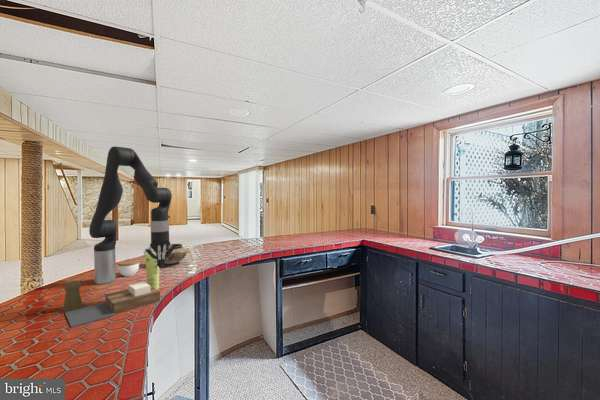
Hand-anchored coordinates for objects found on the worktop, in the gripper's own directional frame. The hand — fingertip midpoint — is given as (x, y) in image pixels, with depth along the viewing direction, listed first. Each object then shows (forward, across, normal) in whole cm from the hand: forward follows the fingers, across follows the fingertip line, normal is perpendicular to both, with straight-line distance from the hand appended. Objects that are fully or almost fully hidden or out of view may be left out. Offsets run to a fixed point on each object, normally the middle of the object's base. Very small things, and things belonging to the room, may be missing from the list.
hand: (160, 267), depth 123 cm
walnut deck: (+13, +12, 0) cm, 17 cm away
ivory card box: (+9, +9, 0) cm, 13 cm away
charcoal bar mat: (+13, +26, 0) cm, 30 cm away
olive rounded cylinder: (+13, +30, -13) cm, 35 cm away
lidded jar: (+13, +1, -47) cm, 48 cm away
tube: (+13, 0, -11) cm, 17 cm away
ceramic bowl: (+13, -25, -51) cm, 58 cm away
